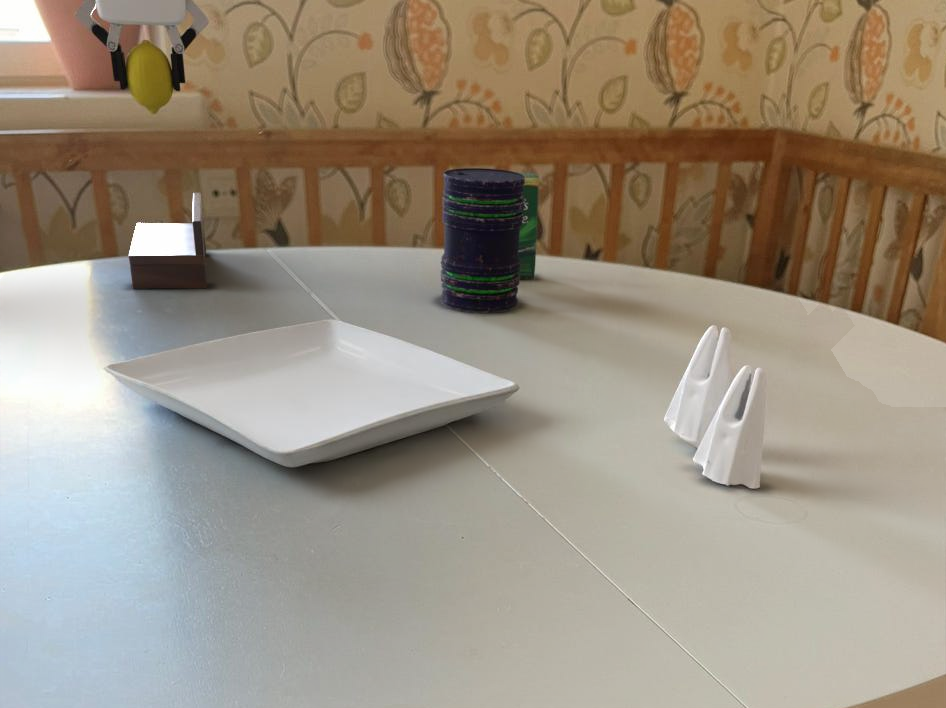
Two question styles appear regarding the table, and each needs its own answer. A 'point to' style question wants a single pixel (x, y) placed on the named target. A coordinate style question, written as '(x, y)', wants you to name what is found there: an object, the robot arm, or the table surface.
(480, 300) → the navy striped canister
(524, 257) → the coffee box
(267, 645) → the table surface
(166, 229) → the block with corner post
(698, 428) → the shaker set
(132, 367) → the square plate
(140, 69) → the lemon
